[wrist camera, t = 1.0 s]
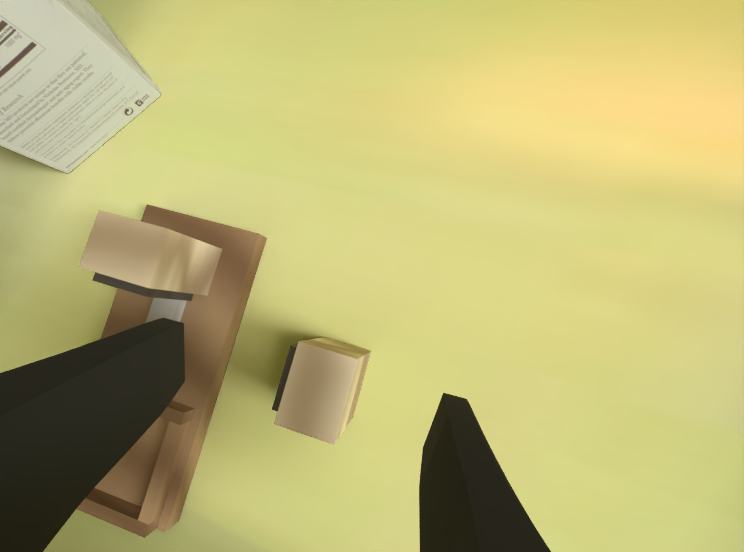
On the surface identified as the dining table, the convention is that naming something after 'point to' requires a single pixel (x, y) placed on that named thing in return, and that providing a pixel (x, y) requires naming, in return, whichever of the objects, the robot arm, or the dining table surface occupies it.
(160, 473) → the rail base
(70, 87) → the supplement box
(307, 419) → the block
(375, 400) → the dining table surface
